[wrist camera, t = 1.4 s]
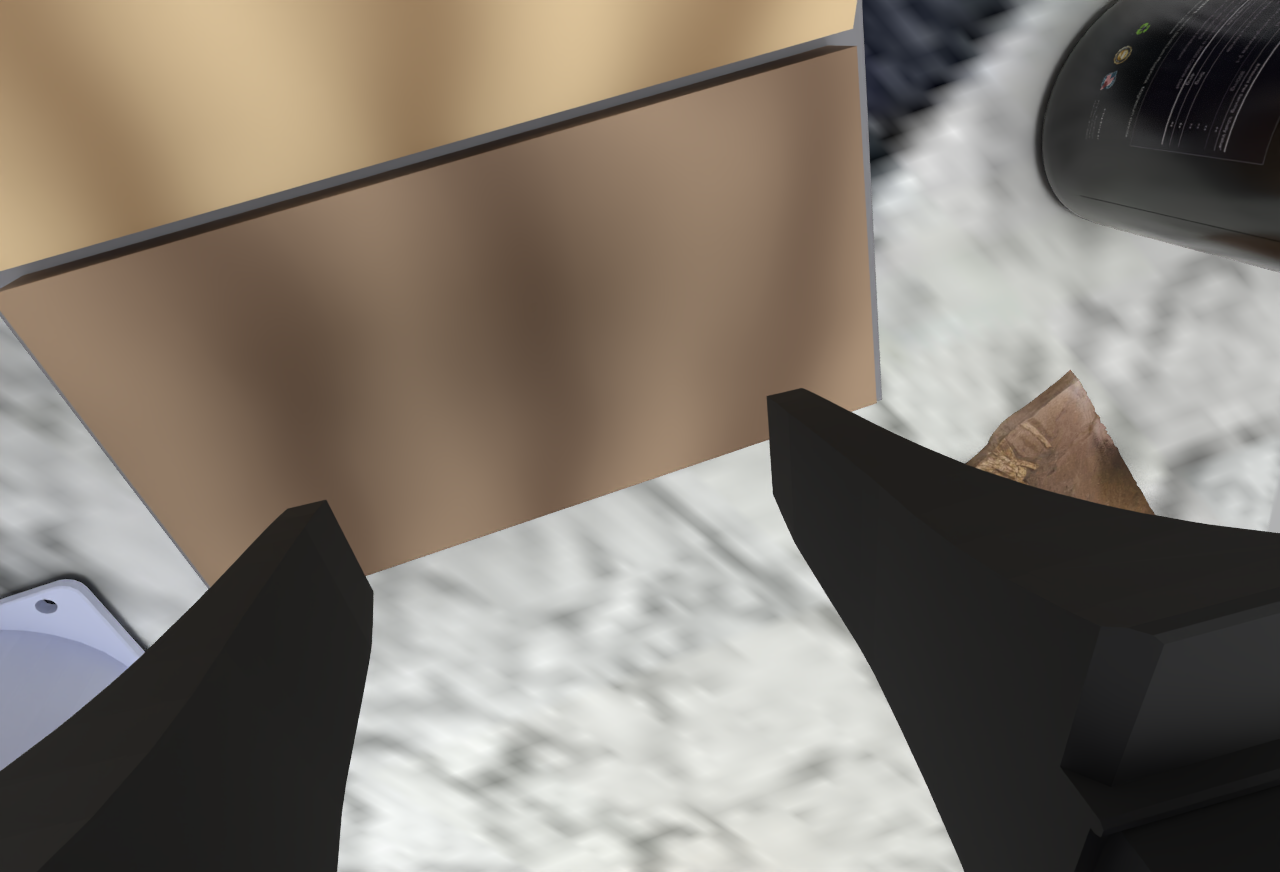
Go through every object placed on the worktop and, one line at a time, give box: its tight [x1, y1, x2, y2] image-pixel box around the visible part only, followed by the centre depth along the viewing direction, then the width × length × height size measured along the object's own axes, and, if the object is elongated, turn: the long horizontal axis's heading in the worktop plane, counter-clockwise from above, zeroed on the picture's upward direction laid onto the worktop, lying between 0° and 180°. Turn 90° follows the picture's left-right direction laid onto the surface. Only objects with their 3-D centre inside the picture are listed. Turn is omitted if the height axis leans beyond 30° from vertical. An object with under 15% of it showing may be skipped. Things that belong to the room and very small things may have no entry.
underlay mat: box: [0, 0, 882, 589], centre depth 17 cm, size 22×23×1 cm
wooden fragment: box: [966, 370, 1155, 515], centre depth 33 cm, size 26×11×1 cm, turn 16°
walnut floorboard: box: [0, 45, 877, 587], centre depth 19 cm, size 20×10×2 cm, turn 103°
